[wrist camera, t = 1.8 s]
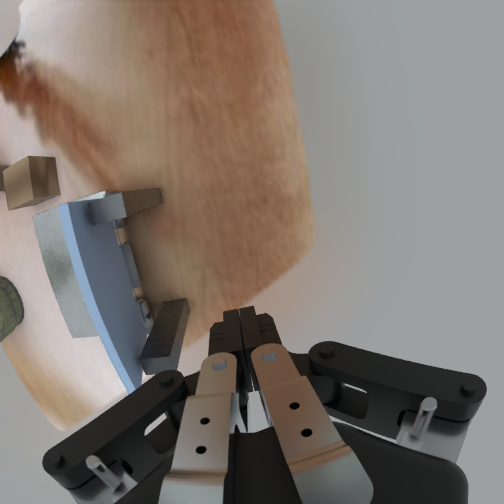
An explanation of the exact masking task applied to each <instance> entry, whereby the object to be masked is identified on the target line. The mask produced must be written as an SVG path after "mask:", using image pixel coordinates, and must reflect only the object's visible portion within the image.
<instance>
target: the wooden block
mask: <svg viewBox="0 0 504 504" xmlns="http://www.w3.org/2000/svg"><path fill="white" fill-rule="evenodd" d="M8 167H10V166H6V165H0V191H5V185H4V176H3V171H4V170H5V169H7V168H8Z"/></svg>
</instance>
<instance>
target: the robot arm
mask: <svg viewBox="0 0 504 504" xmlns="http://www.w3.org/2000/svg"><path fill="white" fill-rule="evenodd" d="M239 311H240V315H239ZM251 378H252V380H251ZM252 381H253V386H254V390H255V391H259V394H260V398H261V402H262V406H263V409H264V412H265V415H266V419H267V422H268V425H269V428H266V429H264V430H261V431H258V432H255V433H250V410H249V403H248V400H249V397H248V392H253V387H252ZM345 383H346V384H349V385H352V386H354V387H357V388H360V389H363V390H364V391H366V392H367V393H365V392H362V391H359V390H356V389H353V388H350V387H347V386H345ZM486 391H487V387H486V384H485V382H484V381H483V380H482V378H480V377H478V376H477V375H474V374H469V373H463V372H458V371H453V370H448V369H443V368H438V367H433V366H428V365H424V364H419V363H415V362H411V361H406V360H402V359H398V358H393V357H390V356H386V355H382V354H378V353H374V352H370V351H366V350H363V349H359V348H356V347H352V346H348V345H345V344H341V343H338V342H333V341H325V342H321V343H318V344H316V345H314V346H313V347H311V349H310V350H309V353H308V354H296V353H291V352H289V351H287V349H286V348H285V347H284V346H283V345H282V343H281V340H280V337H279V334H278V332H277V329H276V326H275V323H274V320H273V318H272V317H271V316H270V315H268V314H267V313H264V314H259V315H256V313H255V309H254V306H249V307H244V308H239V310H238V309H234V310H229V311H224V312H223V322H217V323H214V324H213V326H212V327H211V328H210V338H209V352H208V357H207V358H206V359H205V360H204V361H203V362H202V365H201V370H200V371H199V372H196V373H194V374H191V375H188V376H185V377H183V375H182V373H181V372H179V371H177V370H165V371H162V372H159V373H158V374H156V375H155V376H153V377H152V378H151V379H149V380H148V381H147V382H145V383H144V384H143V385H141V386H140V387H138V388H137V389H136V390H134V391H133V392H132V393H130V394H129V395H128V396H126V397H125V398H124V399H122V400H121V401H119V402H118V403H117V404H115V405H114V406H112V407H111V408H110V409H108V410H107V411H105V412H104V413H102V414H101V415H100V416H98V417H97V418H95V419H94V420H92V421H91V422H90V423H88V424H87V425H85V426H84V427H82V428H81V429H80V430H78V431H77V432H75V433H73V434H72V435H71V436H69V437H68V438H66V439H65V440H63V441H61V442H60V443H58V444H57V445H56V446H54V447H52V448H51V449H49V450H48V451H47V452H46V453H45V455H44V457H43V463H42V464H43V467H44V470H45V471H46V472H47V473H48V474H49V475H50V476H51V477H53V478H54V479H55V480H56V481H57V482H58V483H59V484H60V485H61V486H62V487H63V488H64V489H66V490H67V491H68V492H70V494H71V495H72V497H73V498H74V499H75V501H76V502H77V503H78V504H468V481H467V478H466V475H465V474H464V472H463V471H462V469H461V468H460V467H459V466H457V465H456V461H457V459H458V456H459V453H460V451H461V448H462V445H463V442H464V439H465V436H466V433H467V430H468V426H469V425H470V423H471V421H472V419H473V418H474V416H475V414H476V412H477V410H478V409H479V406H480V404H481V403H482V401H483V399H484V397H485V395H486ZM163 413H165V415H166V417H167V418H166V419H165V420H164V421H163V422H162V423H160V424H159V425H158V426H157V427H156V428H154V429H153V430H152V431H151V432H150V433H148V434H147V435H146V436H145V435H144V433H145V429H146V428H147V427H148V426H149V425H150V424H151V423H152V422H154V421H155V420H156V419H157V418H158V417H159V416H161V415H162V414H163ZM328 415H330V416H333V417H335V418H337V419H340V420H342V421H345V422H347V423H350V424H352V425H355V426H357V427H360V428H363V429H366V430H368V431H371V432H374V433H377V434H380V435H382V436H385V437H388V438H392V439H395V440H396V441H397V444H395V443H393V442H390V441H387V440H385V439H382V438H379V437H376V436H374V435H372V434H369V433H366V432H364V431H362V430H359V429H357V428H355V427H352V426H350V425H347V424H344V423H338V422H333V421H331V419H330V418H329V416H328Z"/></svg>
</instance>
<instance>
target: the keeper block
mask: <svg viewBox="0 0 504 504" xmlns="http://www.w3.org/2000/svg"><path fill="white" fill-rule="evenodd" d="M3 176H4V185H5V193H6V200H7V206H8V211H9V210H14V209H18V208H23V207H27V206H32V205H36V204H38V203H41V202H43V201H45V200H48V199H50V198H53V197H55V196H58V195H60V189H59V183H58V177H57V169H56V161H55V158H53V157H39V156H27V157H25V158H24V159H22V160H20V161H18V162H17V163H15V164H13V165H12V166H10V167H8V168H7V169H5V170H4V171H3Z"/></svg>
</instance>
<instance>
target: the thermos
mask: <svg viewBox="0 0 504 504" xmlns="http://www.w3.org/2000/svg"><path fill="white" fill-rule="evenodd" d="M23 318H24V308H23V303H22V300H21V297H20V295H19V293H18V291H17V289H16V288H15V286H14V285H13V284H12V283H11V282H10V281H9V280H8V279H7V278H5V277H2V276H1V277H0V342H1V341H2V340H4V339H5V338H6V337H7V336H8V335H9V334H10V333H11V332H12V331H13V330H14V329H15V327H16V326H17V325H18V324H20V323H21V322H22V320H23Z"/></svg>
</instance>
